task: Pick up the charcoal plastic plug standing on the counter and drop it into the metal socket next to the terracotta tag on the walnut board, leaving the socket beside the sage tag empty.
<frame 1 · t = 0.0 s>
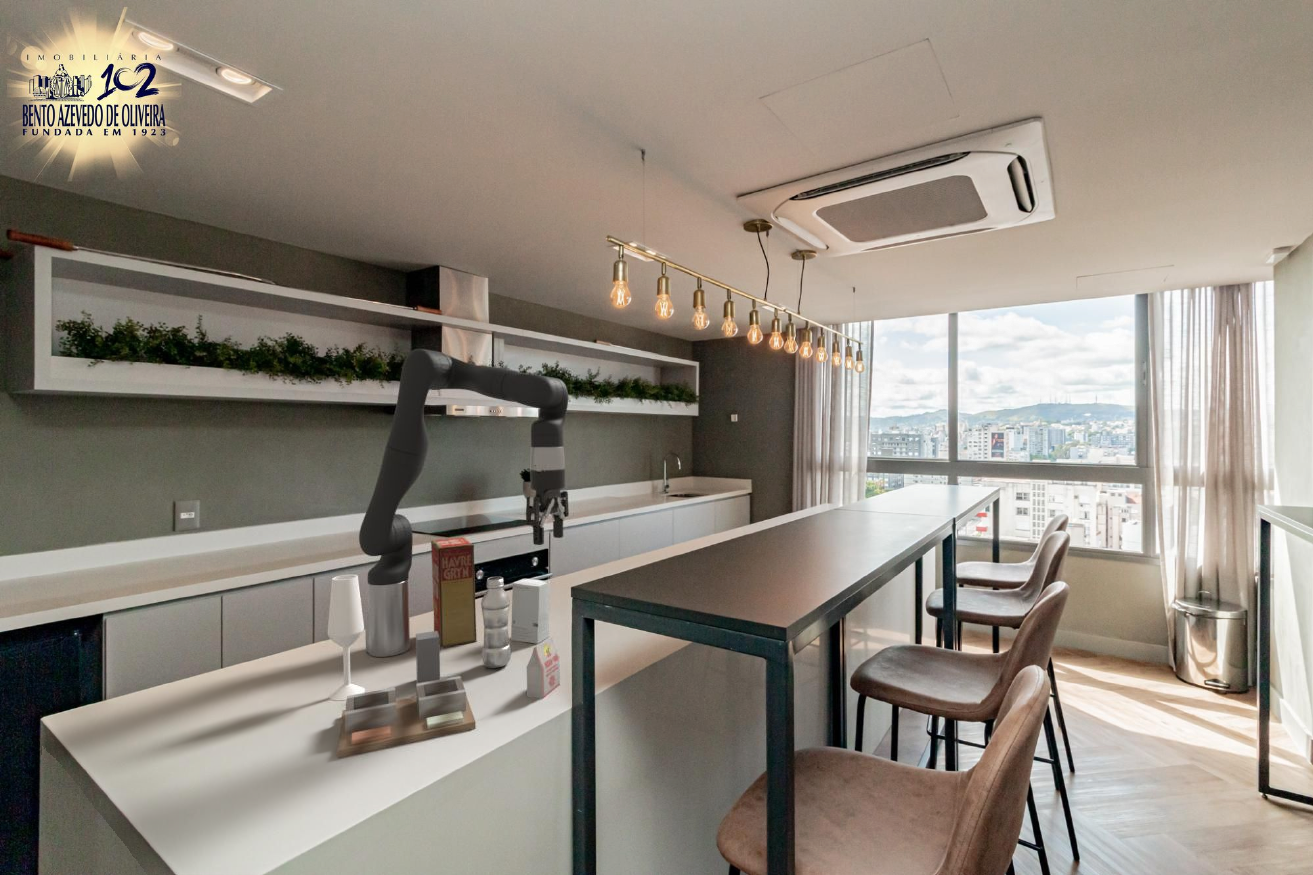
hand: (548, 540, 133), 29 cm above the counter, tool pointing down, fingers open, 8 cm apart
champagne flute: (347, 694, 124), on the counter
plug: (428, 681, 130), on the counter
small milk carton: (543, 691, 124), on the counter
socket board: (407, 718, 113), on the counter
skincare box: (531, 639, 155), on the counter
food packaging: (454, 637, 158), on the counter
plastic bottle: (496, 666, 138), on the counter
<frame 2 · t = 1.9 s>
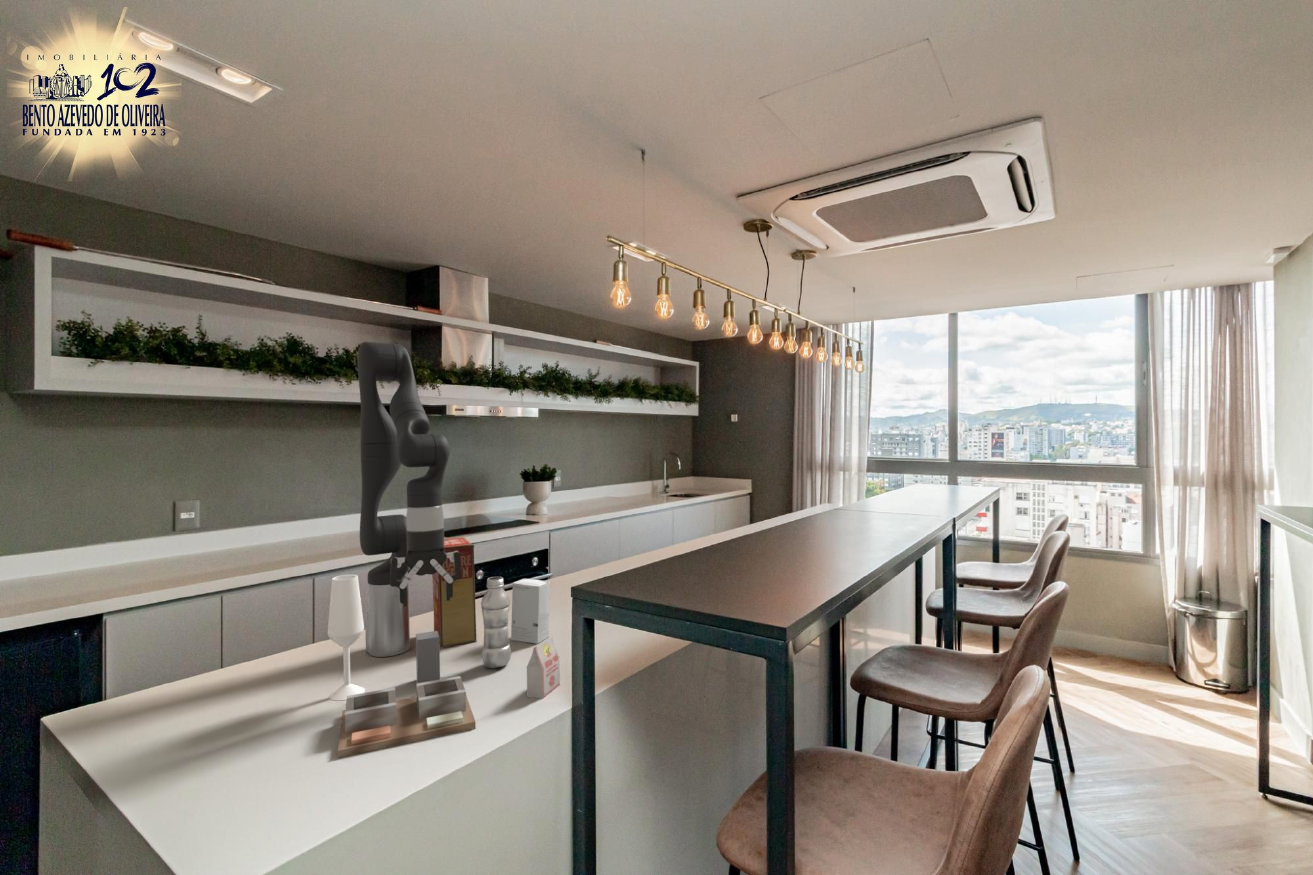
hand: (426, 602, 129), 17 cm above the counter, tool pointing down, fingers open, 8 cm apart
nothing on the counter moved.
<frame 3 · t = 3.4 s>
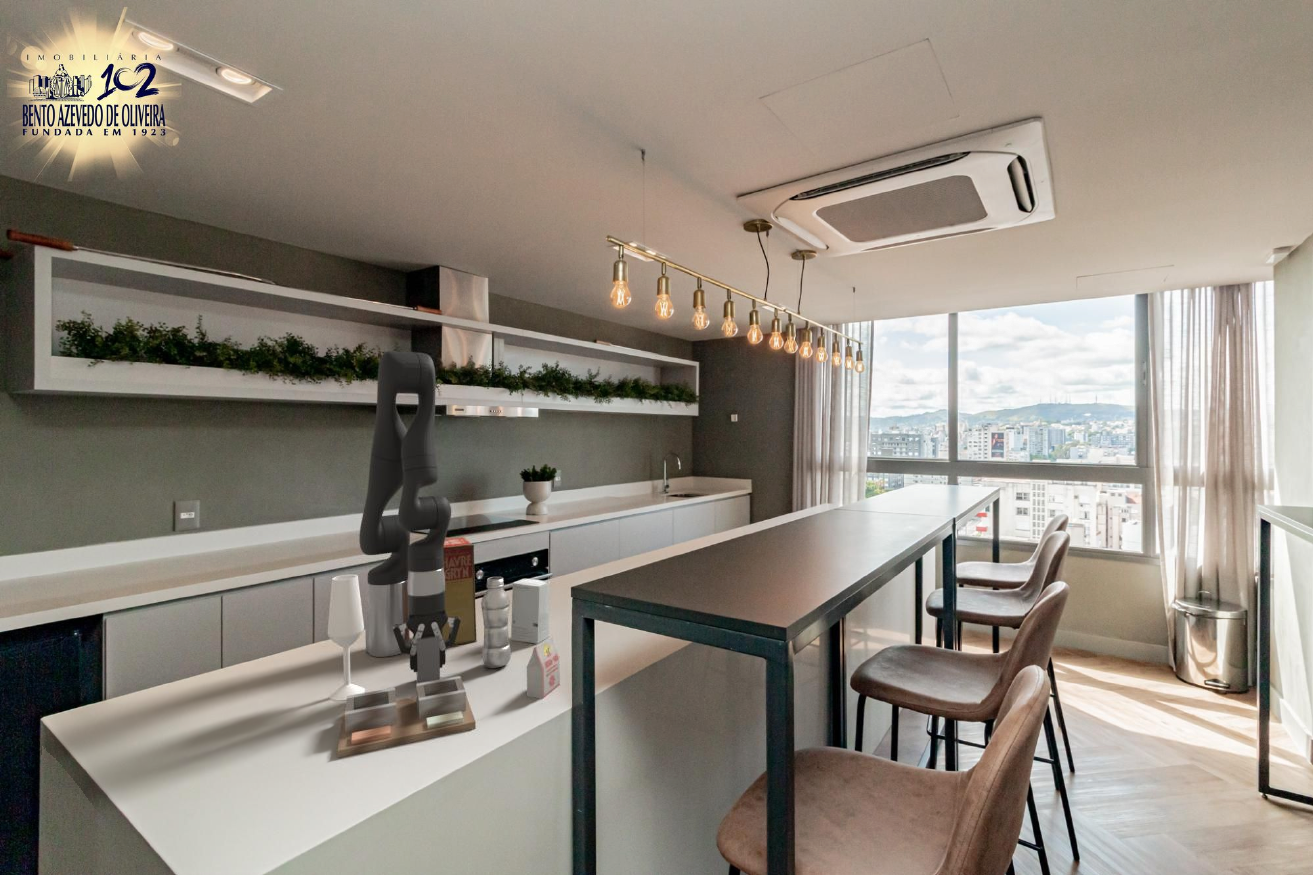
hand: (428, 668, 130), 3 cm above the counter, tool pointing down, fingers closed on plug, 4 cm apart
plug: (428, 681, 130), on the counter, touching gripper
everything else where it was.
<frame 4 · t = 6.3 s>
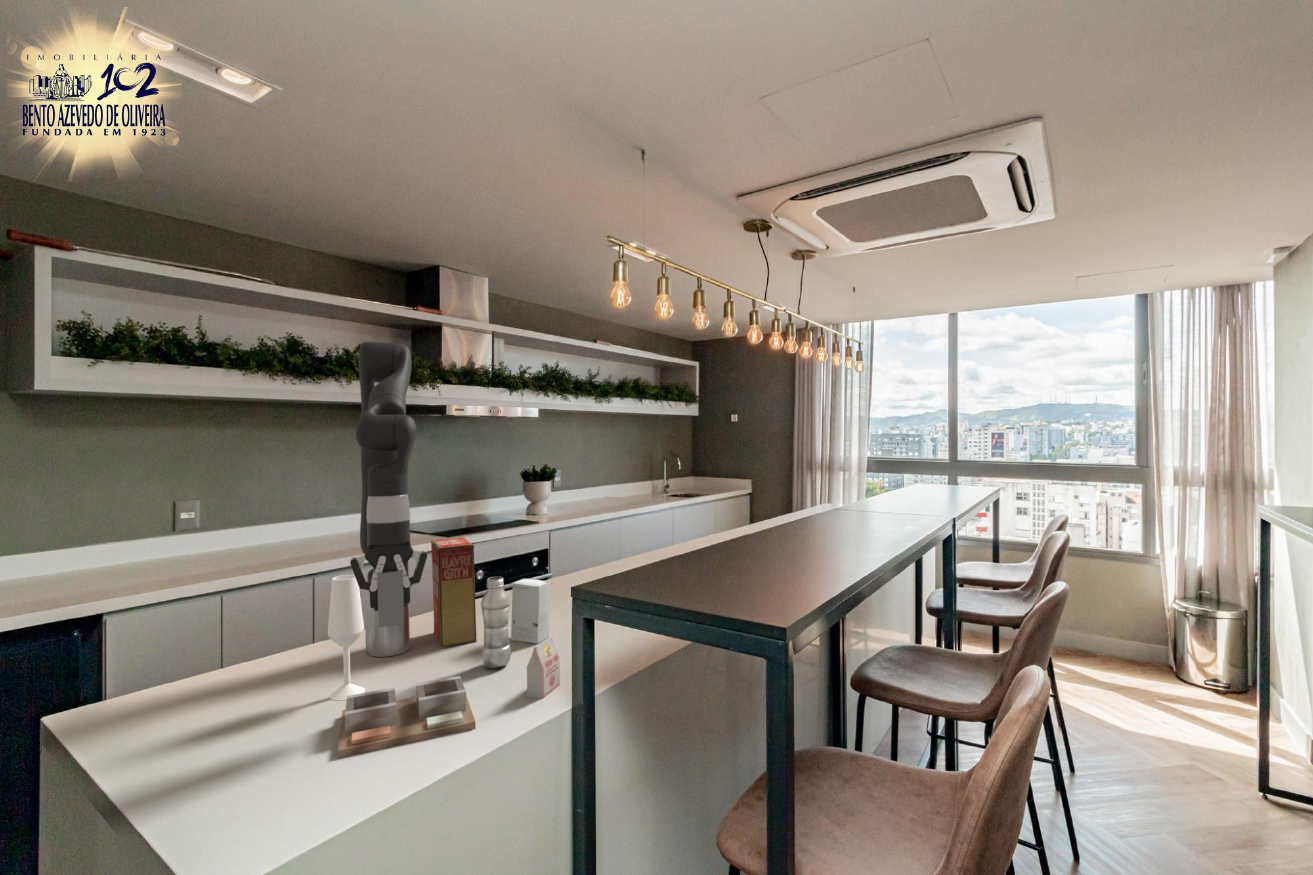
hand: (390, 607, 115), 20 cm above the counter, tool pointing down, fingers closed on plug, 4 cm apart
plug: (390, 622, 115), point 17 cm above the counter, touching gripper
everything else where it was.
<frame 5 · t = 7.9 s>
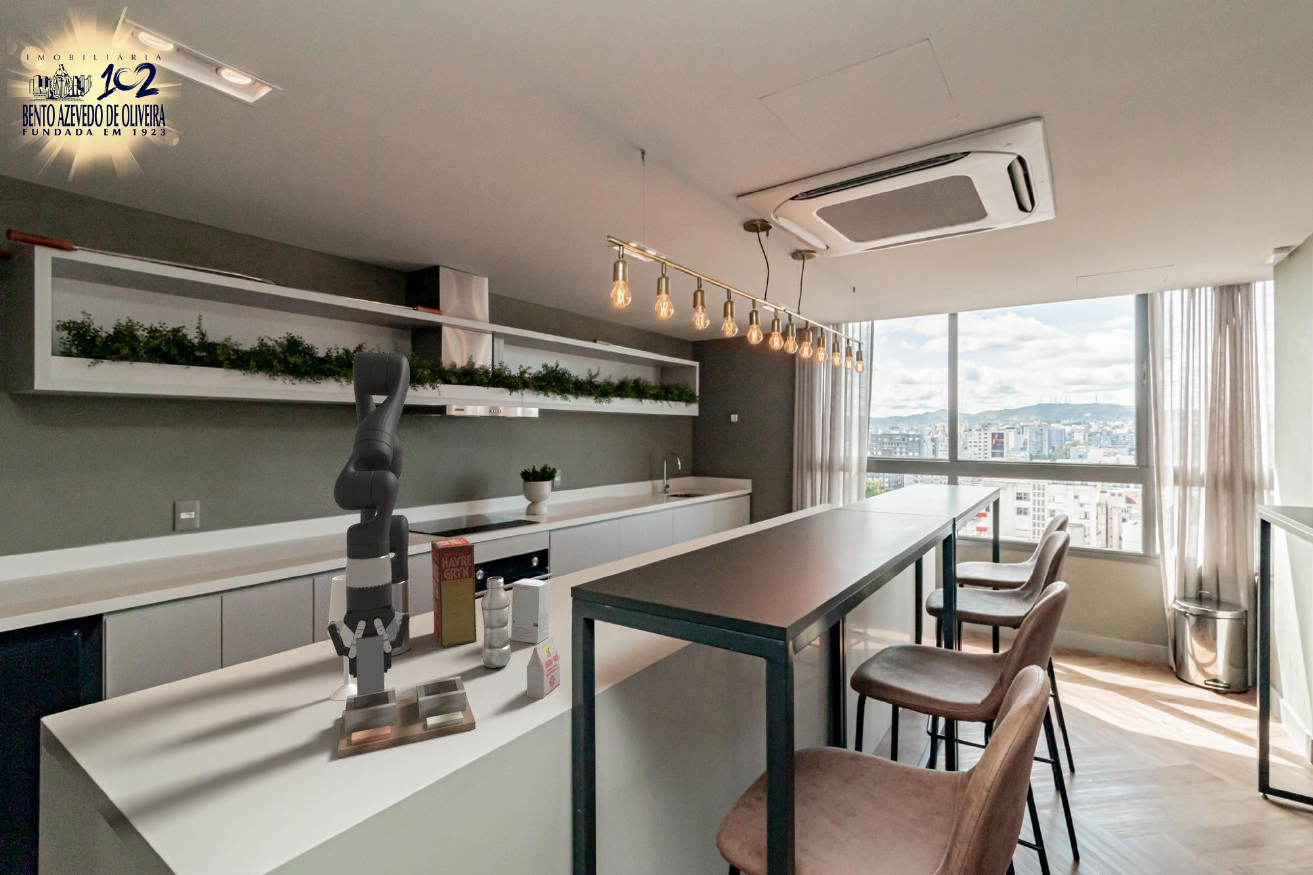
hand: (370, 673, 110), 10 cm above the counter, tool pointing down, fingers closed on plug, 4 cm apart
plug: (371, 688, 110), point 7 cm above the counter, touching gripper
everything else where it was.
when the fingers open (6 cm above the counter, at t = 9.2 s): plug drops 2 cm, resting on socket board.
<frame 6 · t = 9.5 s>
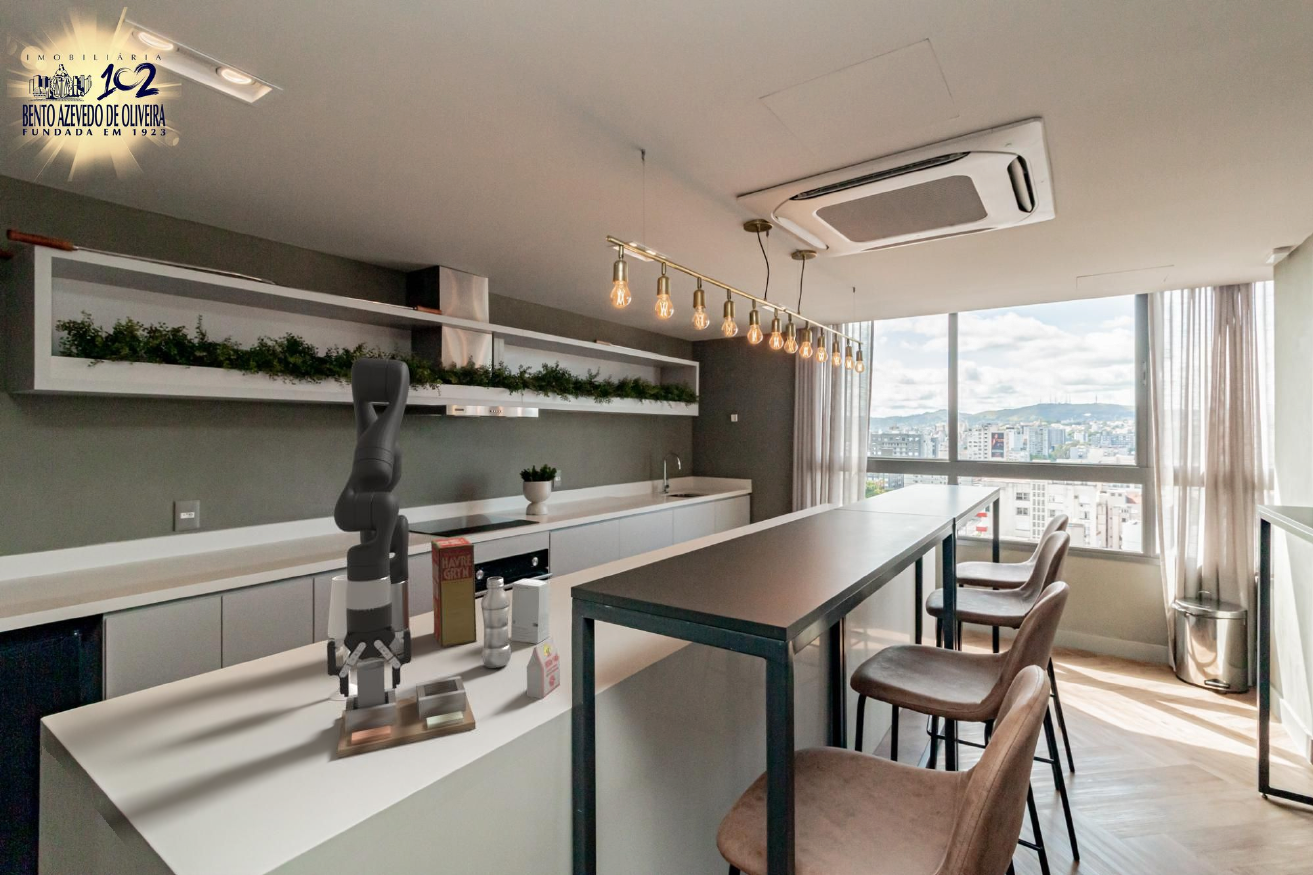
hand: (371, 691, 110), 6 cm above the counter, tool pointing down, fingers open, 7 cm apart
plug: (371, 719, 110), point 1 cm above the counter, touching socket board
everything else where it was.
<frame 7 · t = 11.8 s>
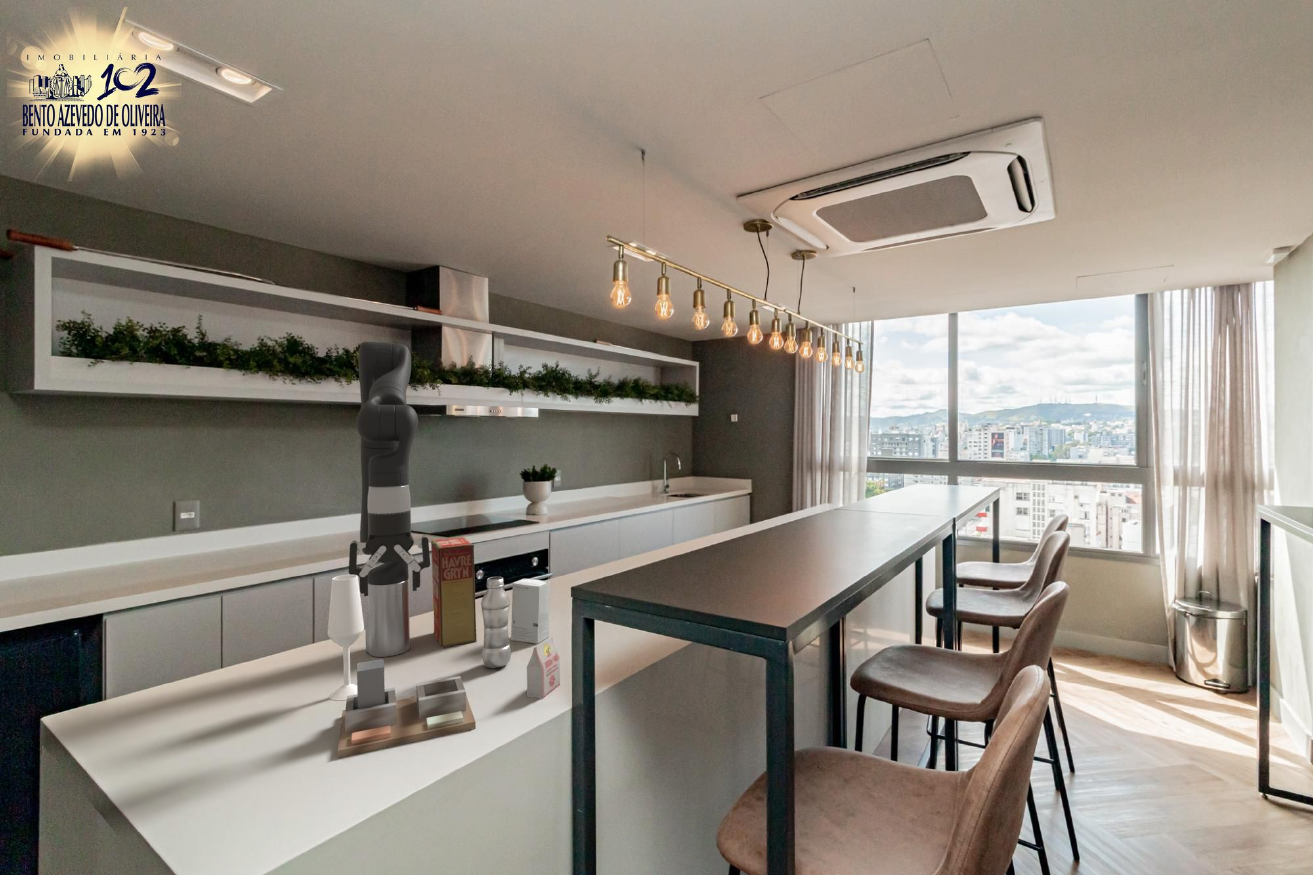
hand: (390, 592, 116), 23 cm above the counter, tool pointing down, fingers open, 8 cm apart
nothing on the counter moved.
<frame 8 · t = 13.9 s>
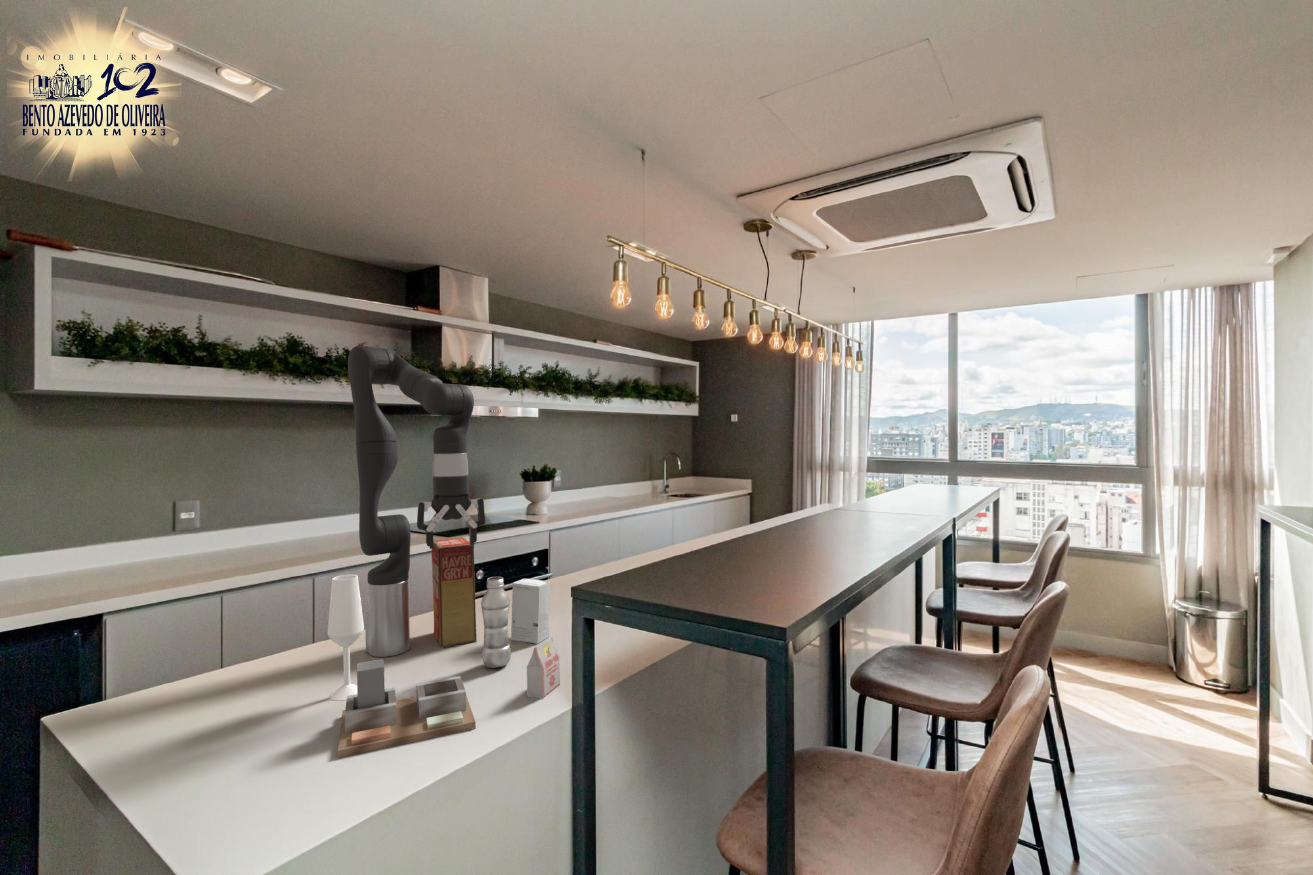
hand: (452, 546, 134), 28 cm above the counter, tool pointing down, fingers open, 8 cm apart
nothing on the counter moved.
at the end: plug 0.1 cm from the target spot on the socket board, point 1.2 cm above the socket board's base; plug tilted 0°; the gripper is holding nothing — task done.
